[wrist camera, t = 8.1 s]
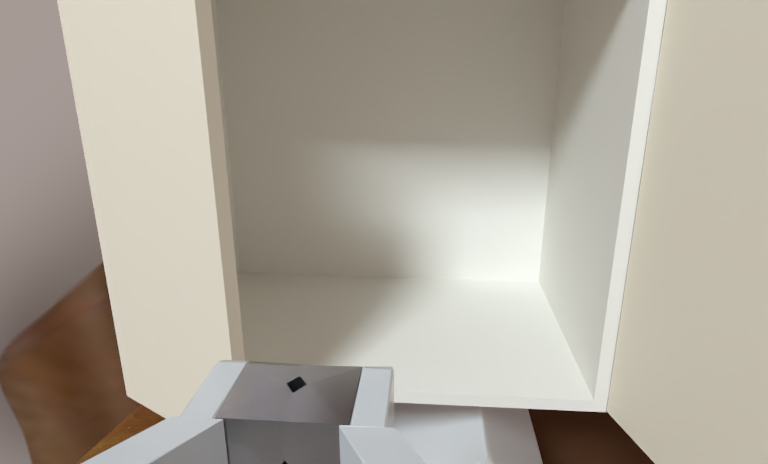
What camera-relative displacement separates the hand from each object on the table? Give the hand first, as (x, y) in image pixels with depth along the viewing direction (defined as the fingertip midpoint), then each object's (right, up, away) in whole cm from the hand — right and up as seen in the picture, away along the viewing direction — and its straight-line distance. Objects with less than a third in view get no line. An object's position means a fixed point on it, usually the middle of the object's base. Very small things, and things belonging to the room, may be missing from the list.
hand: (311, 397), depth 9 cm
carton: (+1, +9, +26) cm, 28 cm away
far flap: (-7, +4, +12) cm, 14 cm away
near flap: (+12, +3, +9) cm, 15 cm away
